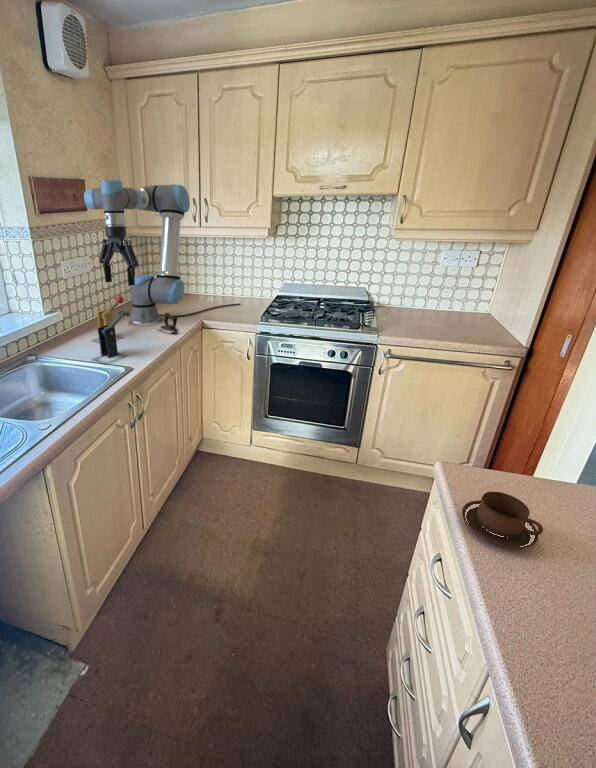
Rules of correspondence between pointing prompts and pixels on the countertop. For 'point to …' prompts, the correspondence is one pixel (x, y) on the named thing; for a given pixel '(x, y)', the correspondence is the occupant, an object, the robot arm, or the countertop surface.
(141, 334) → the countertop surface
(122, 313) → the lever grey
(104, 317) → the bracket brass
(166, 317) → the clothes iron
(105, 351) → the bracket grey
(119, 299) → the lever brass
